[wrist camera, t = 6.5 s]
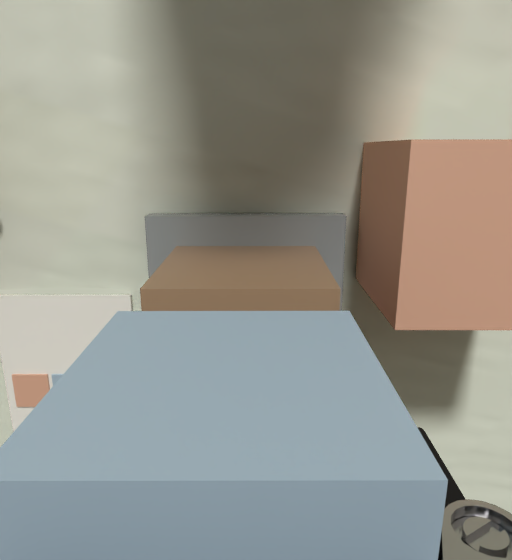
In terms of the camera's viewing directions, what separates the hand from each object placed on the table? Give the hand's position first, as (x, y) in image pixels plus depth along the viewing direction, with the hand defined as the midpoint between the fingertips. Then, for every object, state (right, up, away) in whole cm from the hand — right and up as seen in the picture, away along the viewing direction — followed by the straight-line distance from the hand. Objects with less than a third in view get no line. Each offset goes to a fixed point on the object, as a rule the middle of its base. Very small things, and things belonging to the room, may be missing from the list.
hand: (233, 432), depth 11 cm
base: (0, +3, +9) cm, 9 cm away
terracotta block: (+8, +6, +8) cm, 13 cm away
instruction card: (-8, -1, +10) cm, 13 cm away
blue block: (0, 0, +1) cm, 1 cm away
